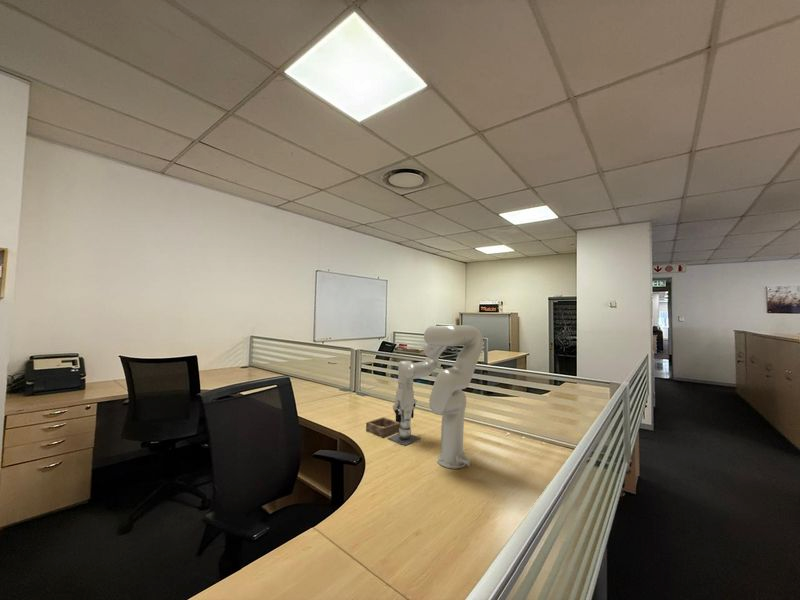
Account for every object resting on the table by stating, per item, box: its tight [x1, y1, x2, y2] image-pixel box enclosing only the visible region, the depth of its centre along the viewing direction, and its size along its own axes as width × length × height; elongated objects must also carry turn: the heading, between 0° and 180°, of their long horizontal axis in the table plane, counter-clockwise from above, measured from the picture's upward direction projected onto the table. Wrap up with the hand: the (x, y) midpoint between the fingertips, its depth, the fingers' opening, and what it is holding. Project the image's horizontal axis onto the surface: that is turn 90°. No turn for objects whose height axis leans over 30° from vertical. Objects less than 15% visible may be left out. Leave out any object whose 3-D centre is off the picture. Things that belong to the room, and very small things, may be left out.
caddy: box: [365, 416, 400, 439], centre depth 174 cm, size 13×13×4 cm
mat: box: [386, 433, 422, 447], centre depth 164 cm, size 12×12×1 cm
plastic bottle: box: [397, 402, 412, 439], centre depth 164 cm, size 6×7×20 cm
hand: (404, 419), depth 165 cm, fingers open, 9 cm apart
